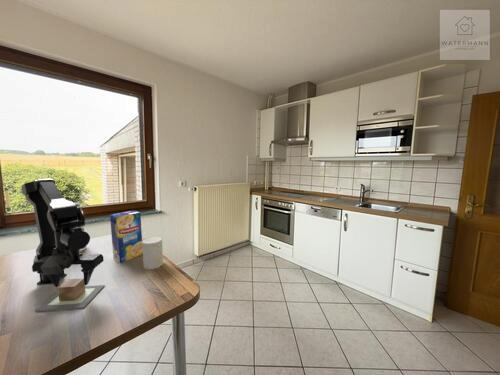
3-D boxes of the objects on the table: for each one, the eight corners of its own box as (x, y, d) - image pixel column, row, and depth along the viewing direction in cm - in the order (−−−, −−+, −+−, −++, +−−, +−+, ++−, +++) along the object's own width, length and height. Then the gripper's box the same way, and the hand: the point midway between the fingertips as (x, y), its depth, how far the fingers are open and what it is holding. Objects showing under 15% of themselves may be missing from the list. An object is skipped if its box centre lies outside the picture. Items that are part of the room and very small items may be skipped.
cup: (155, 270, 91) (154, 244, 89) (139, 268, 92) (137, 242, 91) (166, 261, 99) (165, 237, 97) (151, 260, 100) (150, 236, 99)
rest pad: (35, 311, 66) (35, 309, 66) (64, 288, 77) (63, 287, 77) (83, 308, 67) (83, 306, 67) (104, 286, 79) (104, 284, 79)
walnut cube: (59, 301, 70) (57, 287, 69) (70, 292, 74) (68, 279, 74) (75, 300, 70) (74, 286, 69) (85, 291, 75) (84, 278, 74)
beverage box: (143, 254, 106) (140, 212, 103) (119, 263, 97) (116, 217, 94) (136, 251, 110) (133, 210, 107) (113, 259, 101) (109, 214, 98)
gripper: (11, 254, 61) (18, 303, 63) (81, 251, 63) (86, 299, 65) (44, 240, 72) (49, 282, 74) (102, 237, 74) (106, 279, 76)
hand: (72, 285), depth 72 cm, fingers open, 9 cm apart
